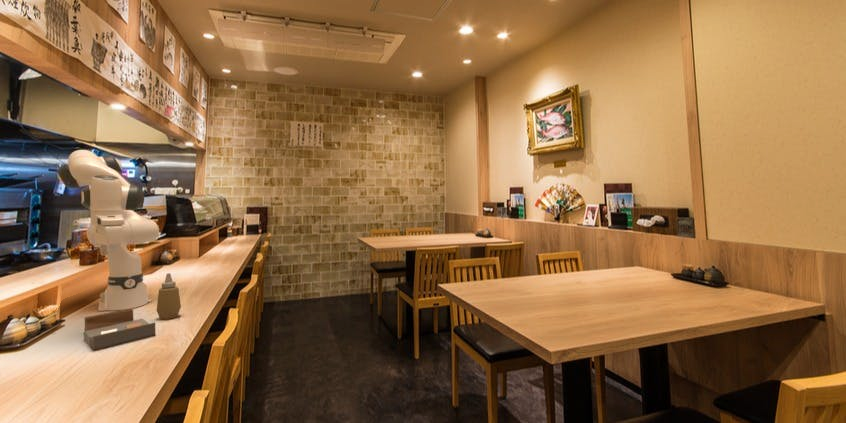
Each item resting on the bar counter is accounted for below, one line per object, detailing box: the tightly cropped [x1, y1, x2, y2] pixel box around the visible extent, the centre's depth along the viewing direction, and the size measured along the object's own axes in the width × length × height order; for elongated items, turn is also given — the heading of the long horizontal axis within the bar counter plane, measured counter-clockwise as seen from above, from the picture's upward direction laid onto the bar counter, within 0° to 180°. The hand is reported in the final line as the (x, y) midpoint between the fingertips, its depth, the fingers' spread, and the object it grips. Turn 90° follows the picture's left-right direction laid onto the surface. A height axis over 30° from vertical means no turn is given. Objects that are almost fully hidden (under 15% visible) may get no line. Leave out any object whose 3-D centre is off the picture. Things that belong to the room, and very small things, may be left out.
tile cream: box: [100, 329, 117, 335], centre depth 116 cm, size 4×4×2 cm
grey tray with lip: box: [83, 318, 156, 352], centre depth 120 cm, size 14×16×4 cm
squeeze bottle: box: [156, 273, 182, 320], centre depth 142 cm, size 8×8×18 cm
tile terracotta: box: [125, 322, 141, 329], centre depth 121 cm, size 4×4×2 cm
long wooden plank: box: [84, 308, 134, 331], centre depth 129 cm, size 3×13×6 cm, turn 143°
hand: (107, 256), depth 128 cm, fingers open, 8 cm apart
